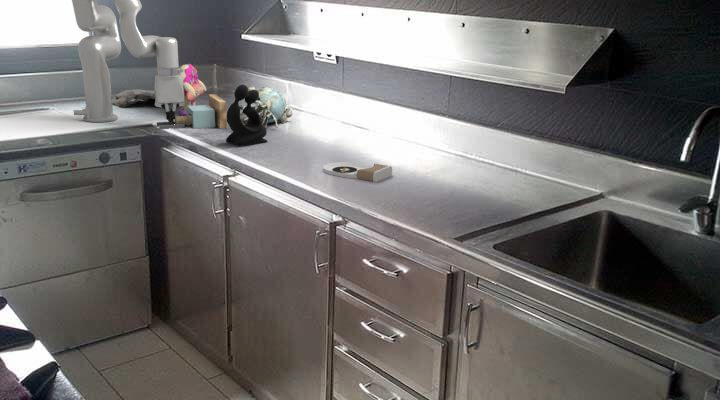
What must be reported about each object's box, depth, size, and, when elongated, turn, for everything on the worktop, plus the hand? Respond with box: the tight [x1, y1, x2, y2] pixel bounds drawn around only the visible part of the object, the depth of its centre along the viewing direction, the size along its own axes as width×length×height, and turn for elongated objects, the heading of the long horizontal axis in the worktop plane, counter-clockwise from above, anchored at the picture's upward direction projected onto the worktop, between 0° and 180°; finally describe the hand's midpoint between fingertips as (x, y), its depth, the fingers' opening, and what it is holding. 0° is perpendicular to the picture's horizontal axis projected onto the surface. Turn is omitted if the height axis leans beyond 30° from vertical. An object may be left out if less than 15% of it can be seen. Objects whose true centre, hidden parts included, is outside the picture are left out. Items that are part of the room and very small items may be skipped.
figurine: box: [225, 84, 268, 147], centre depth 235 cm, size 14×9×20 cm, turn 134°
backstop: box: [208, 93, 228, 130], centre depth 265 cm, size 2×18×10 cm, turn 24°
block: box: [187, 104, 216, 129], centre depth 263 cm, size 8×11×6 cm
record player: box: [322, 161, 393, 183], centre depth 204 cm, size 12×3×20 cm
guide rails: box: [156, 120, 186, 130], centre depth 259 cm, size 9×7×1 cm
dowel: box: [174, 115, 192, 126], centre depth 262 cm, size 10×4×4 cm, turn 113°
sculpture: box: [239, 85, 293, 130], centre depth 265 cm, size 20×18×30 cm
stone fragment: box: [112, 88, 155, 109], centre depth 304 cm, size 26×29×6 cm
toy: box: [178, 63, 207, 116], centre depth 283 cm, size 25×9×20 cm, turn 179°
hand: (170, 121), depth 259 cm, fingers closed
